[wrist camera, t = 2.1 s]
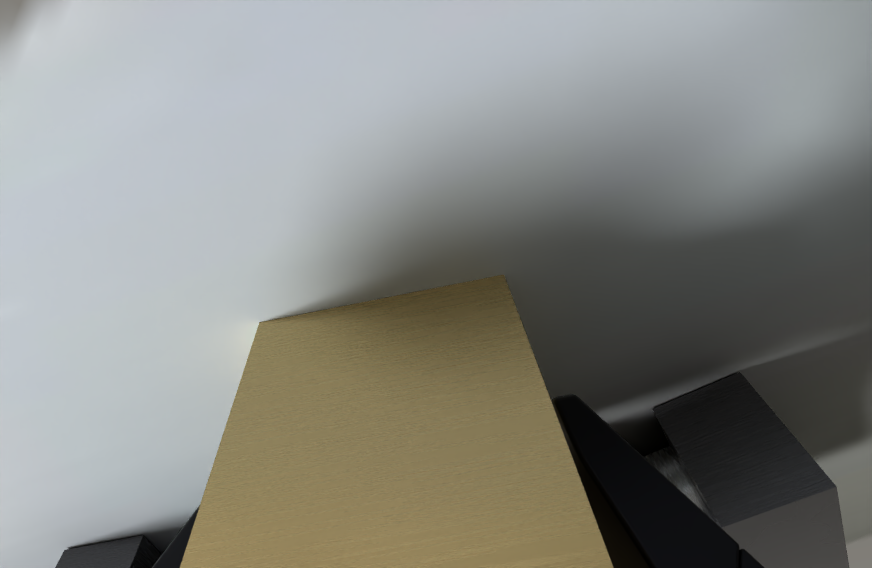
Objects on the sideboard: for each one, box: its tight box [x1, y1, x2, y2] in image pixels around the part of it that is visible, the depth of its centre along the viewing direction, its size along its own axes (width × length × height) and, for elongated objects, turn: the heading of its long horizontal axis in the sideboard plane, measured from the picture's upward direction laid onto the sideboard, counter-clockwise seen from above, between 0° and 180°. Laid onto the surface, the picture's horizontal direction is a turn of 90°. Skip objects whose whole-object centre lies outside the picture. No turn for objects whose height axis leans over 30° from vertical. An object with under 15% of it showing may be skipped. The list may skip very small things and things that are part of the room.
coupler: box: [180, 275, 613, 568], centre depth 8 cm, size 4×4×6 cm
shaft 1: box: [644, 372, 849, 568], centre depth 11 cm, size 5×5×4 cm
